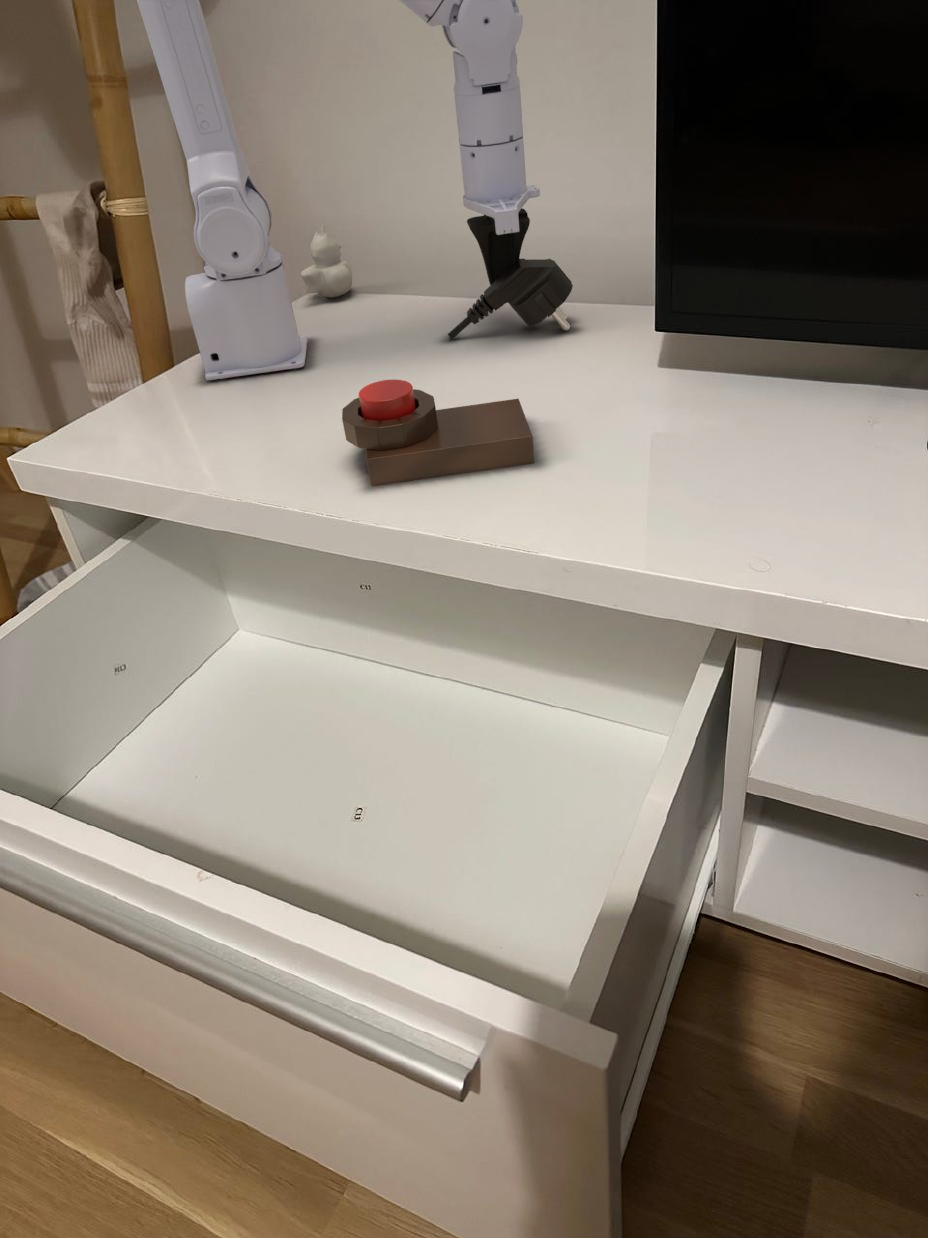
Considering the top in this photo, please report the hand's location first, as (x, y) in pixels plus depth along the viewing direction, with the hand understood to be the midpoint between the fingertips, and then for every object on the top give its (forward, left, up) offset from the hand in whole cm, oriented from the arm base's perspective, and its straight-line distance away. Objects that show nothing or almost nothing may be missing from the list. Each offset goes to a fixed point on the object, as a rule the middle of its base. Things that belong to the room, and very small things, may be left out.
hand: (504, 293), depth 90 cm
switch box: (-8, -27, -3) cm, 29 cm away
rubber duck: (-18, +17, -3) cm, 25 cm away
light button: (-12, -26, +1) cm, 29 cm away
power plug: (0, -3, -3) cm, 4 cm away
